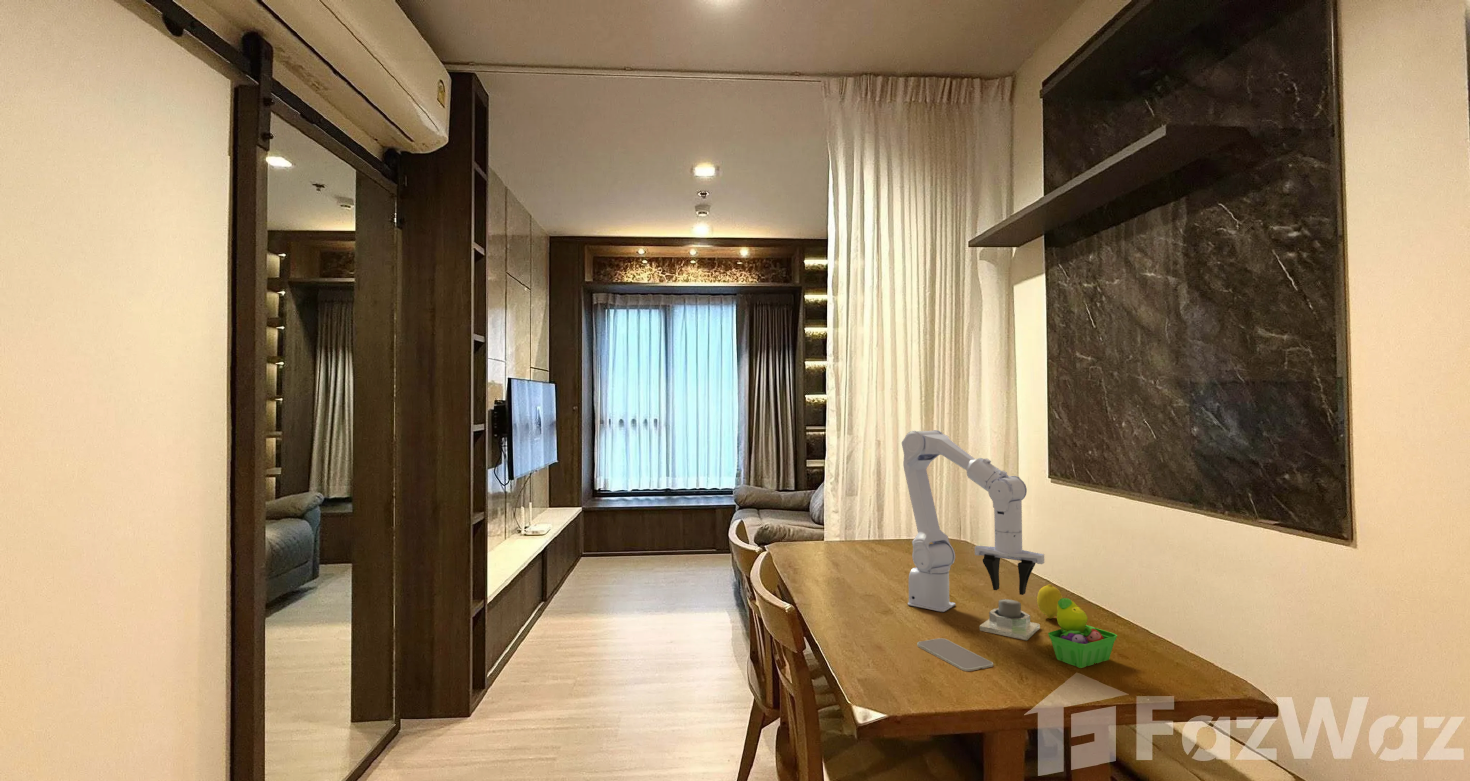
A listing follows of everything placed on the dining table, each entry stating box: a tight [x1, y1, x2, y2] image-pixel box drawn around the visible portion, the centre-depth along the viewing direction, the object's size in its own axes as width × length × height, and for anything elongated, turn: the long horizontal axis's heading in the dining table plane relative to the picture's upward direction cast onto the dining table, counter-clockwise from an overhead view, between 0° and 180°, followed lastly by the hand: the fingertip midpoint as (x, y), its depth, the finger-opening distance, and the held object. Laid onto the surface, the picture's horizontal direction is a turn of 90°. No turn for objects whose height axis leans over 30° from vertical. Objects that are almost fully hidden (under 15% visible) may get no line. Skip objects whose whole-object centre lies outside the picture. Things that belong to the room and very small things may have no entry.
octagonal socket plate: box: [979, 607, 1041, 641], centre depth 144 cm, size 10×10×4 cm
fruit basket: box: [1047, 597, 1118, 669], centre depth 127 cm, size 11×9×11 cm
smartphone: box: [916, 638, 994, 672], centre depth 129 cm, size 7×1×15 cm
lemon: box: [1036, 583, 1063, 619], centre depth 152 cm, size 6×6×8 cm
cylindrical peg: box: [998, 598, 1022, 618], centre depth 144 cm, size 5×5×5 cm
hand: (1009, 591), depth 145 cm, fingers open, 5 cm apart
